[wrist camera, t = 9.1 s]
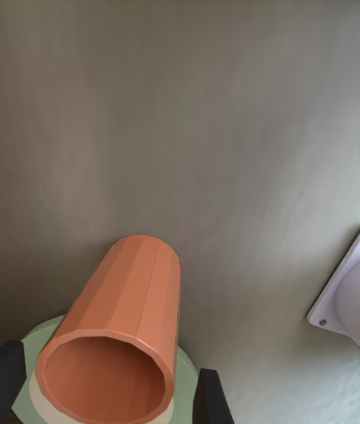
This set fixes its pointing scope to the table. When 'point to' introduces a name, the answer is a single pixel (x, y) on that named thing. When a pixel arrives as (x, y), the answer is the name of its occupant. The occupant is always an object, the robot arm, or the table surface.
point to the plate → (54, 420)
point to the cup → (118, 338)
